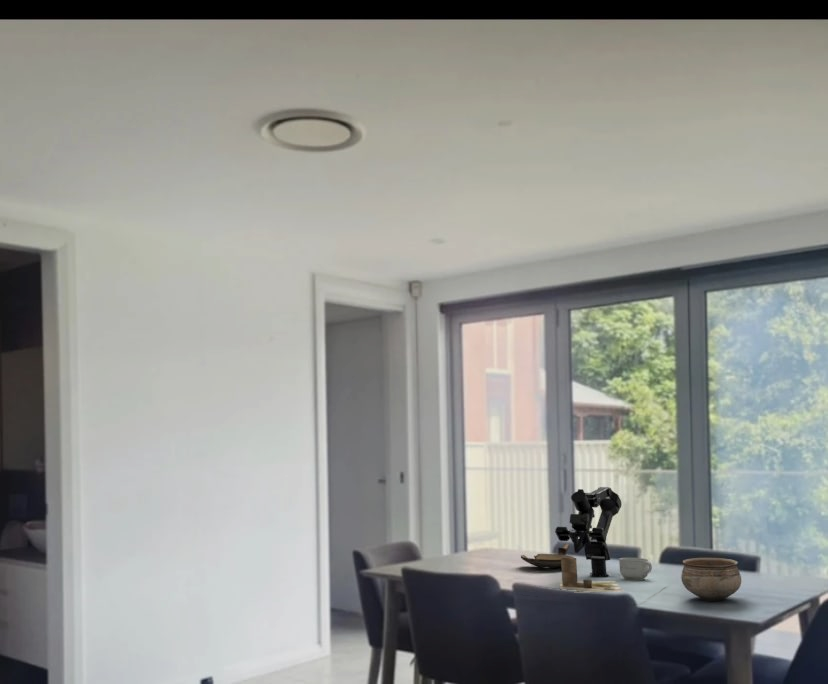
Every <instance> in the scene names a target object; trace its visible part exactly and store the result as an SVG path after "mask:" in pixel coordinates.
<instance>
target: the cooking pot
mask: <svg viewBox="0 0 828 684" xmlns="http://www.w3.org/2000/svg"><path fill="white" fill-rule="evenodd" d="M682 563H683V564H684V565H683V567H682V570H681V574H680V575H681V577H680V579H681V580H680V581H681V582H682V585H683V586H684V588H685V589H686V590H687V591H688V592H689V593H692V594H693V595H695V596H696V597H698V598H699V599H701V600H703V601H706V602H720V601H721V602H722V601H724V600H726V599H727V598H728V597H730V596H732V595H734V594H735V593H736V592H737V591H738V590H739V589H740V587H741V585H742V575H741V573H740V570H739V568H738V566H737V564H738V563H739V562H738V561H737V560H734V559H728V558H721V557H719V558H718V557H695V558H694V557H693V558H687V559H683V560H682Z"/></svg>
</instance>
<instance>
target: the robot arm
mask: <svg viewBox="0 0 828 684" xmlns="http://www.w3.org/2000/svg"><path fill="white" fill-rule="evenodd" d="M570 499H571V501H572V503H573V506H574V508H575V510H576V511H578V513H571V514H569V524H571V528H572V529H571V528H570V530H569V529H568V527H567V526H557V527H555V530H554V532H555V535H556V536H557V540H558V541H561V542H568V541H569V540H571V543H573V551H574V554H579V552H580V551H581V550H584V555H585V559H586V561H587V560H590V563H591V572H590V576H591V577H609V574H608V572H607V561H610V560H611V552H610V550H609V548H608V545H607V536H608V534H609V530H610V528H611V527H610V526H611V523H612V520H613V517H614V516H615V515H617V514H619V511H620V509H621V508H622V499H621V498H620V495H619V494H618V493H616V492H614V491H613V489H612V488H611V487H608V486H600V487H598V488H596V489H595V490H593V491H591V492H585V491H584V489H583V488H582V489H577V491H575V492H574V493H572V495H571V496H570ZM598 507H599V508H600V510H601V512H600V516H599V518H598V521H597V525H596V527H593V525H592V522H593V518H596V517H595V516H596V515H595V510H594V508H598ZM590 529H591V530H590Z"/></svg>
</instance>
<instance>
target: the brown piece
mask: <svg viewBox="0 0 828 684" xmlns="http://www.w3.org/2000/svg"><path fill="white" fill-rule="evenodd" d="M560 568H561V582H562V584H563V586H575V587H584V588H591V587H604V588H611V585H608V584H592V582H593V581H592V579H583V580H582V581H578V567H577V558H576V557H574V558H565V557H562V558H561V567H560ZM581 582H583V583H581Z"/></svg>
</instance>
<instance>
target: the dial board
mask: <svg viewBox="0 0 828 684" xmlns="http://www.w3.org/2000/svg"><path fill="white" fill-rule="evenodd" d="M580 582H581V583H583V581H580ZM592 584H608V585H611V588H604V587H591V588H584V587H575V586H563V584H562V581H558V585H559V587H560V588H559V589H560V590H561V589H566V590H576V591H589V592H588V593H618V592H619V593H623V592H624V591H623V590H622V588H621V587H620V586H619V584H618V583H617V581H616V580H610V581H608V580H607V581H606V580H604V581H592Z"/></svg>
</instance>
